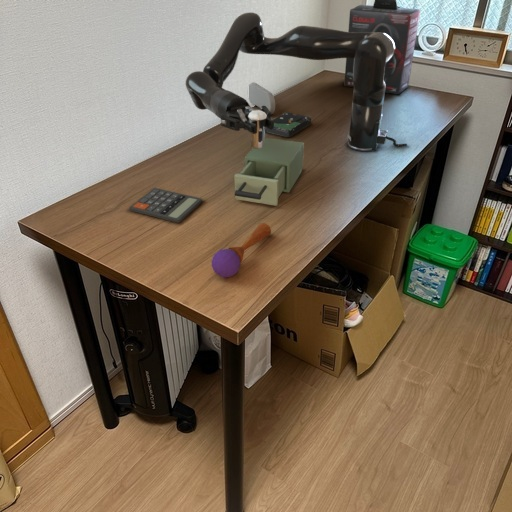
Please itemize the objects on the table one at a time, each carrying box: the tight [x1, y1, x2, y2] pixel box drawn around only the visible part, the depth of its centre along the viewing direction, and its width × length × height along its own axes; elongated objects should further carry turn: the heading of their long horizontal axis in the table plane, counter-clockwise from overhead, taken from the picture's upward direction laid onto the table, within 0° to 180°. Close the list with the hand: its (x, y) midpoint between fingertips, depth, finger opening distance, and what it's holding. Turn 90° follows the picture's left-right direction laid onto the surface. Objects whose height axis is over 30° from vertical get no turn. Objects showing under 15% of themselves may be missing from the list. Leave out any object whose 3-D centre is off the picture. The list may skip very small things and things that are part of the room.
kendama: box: [211, 222, 272, 278], centre depth 108 cm, size 6×6×20 cm
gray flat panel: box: [248, 82, 276, 115], centre depth 183 cm, size 20×2×8 cm, turn 26°
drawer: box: [233, 161, 287, 207], centre depth 128 cm, size 19×11×7 cm, turn 161°
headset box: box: [343, 0, 421, 95], centre depth 196 cm, size 25×12×33 cm, turn 57°
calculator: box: [129, 187, 203, 224], centre depth 128 cm, size 12×1×15 cm
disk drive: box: [265, 111, 312, 138], centre depth 169 cm, size 10×3×15 cm
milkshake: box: [248, 109, 270, 149], centre depth 122 cm, size 4×5×10 cm
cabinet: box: [244, 137, 305, 193], centre depth 138 cm, size 14×13×9 cm
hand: (264, 127), depth 119 cm, fingers closed on milkshake, 4 cm apart
